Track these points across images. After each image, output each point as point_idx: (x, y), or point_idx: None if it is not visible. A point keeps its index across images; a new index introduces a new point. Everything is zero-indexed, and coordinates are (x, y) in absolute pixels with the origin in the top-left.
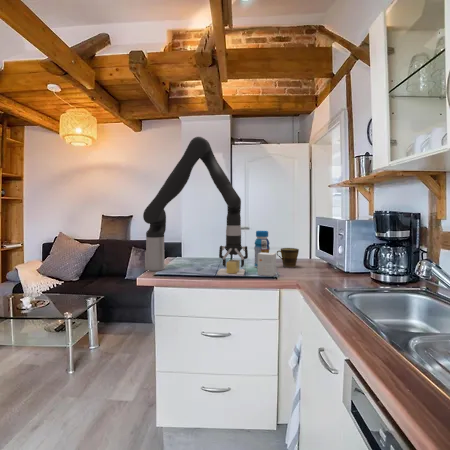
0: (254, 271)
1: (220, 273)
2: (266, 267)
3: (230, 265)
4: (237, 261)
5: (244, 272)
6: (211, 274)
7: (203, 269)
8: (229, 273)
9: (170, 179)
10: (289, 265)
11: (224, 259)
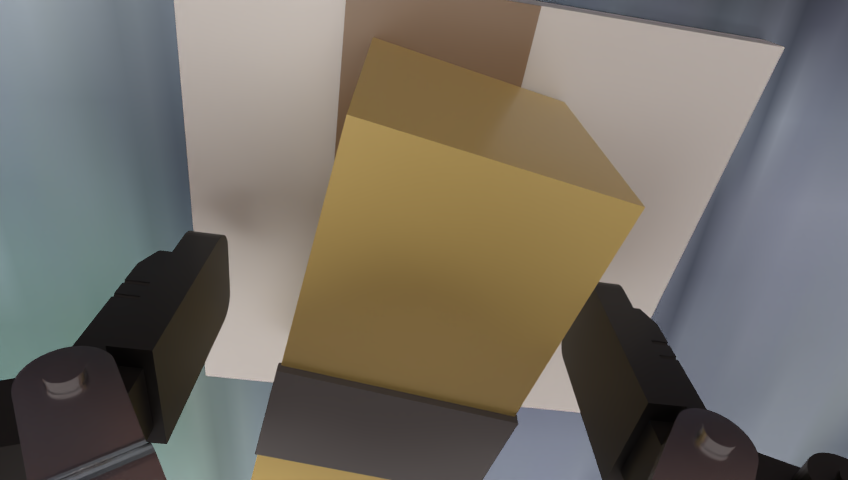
0: (48, 319)
1: (708, 44)
2: None
3: (507, 135)
4: (288, 353)
5: None
6: (844, 113)
7: (812, 439)
8: (513, 14)
9: None
10: None
11: (669, 416)
